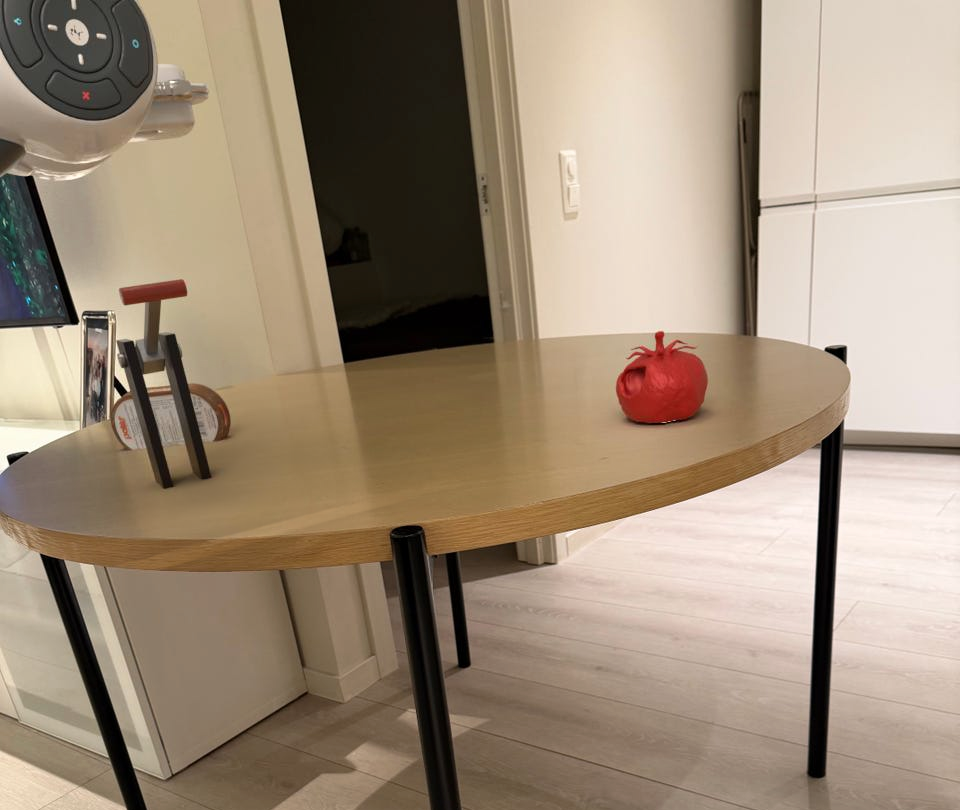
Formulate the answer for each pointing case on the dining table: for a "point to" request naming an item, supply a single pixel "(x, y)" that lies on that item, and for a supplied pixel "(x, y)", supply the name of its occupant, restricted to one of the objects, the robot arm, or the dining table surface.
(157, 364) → the lever
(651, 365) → the red tomato
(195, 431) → the bracket
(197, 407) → the tin
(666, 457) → the dining table surface
